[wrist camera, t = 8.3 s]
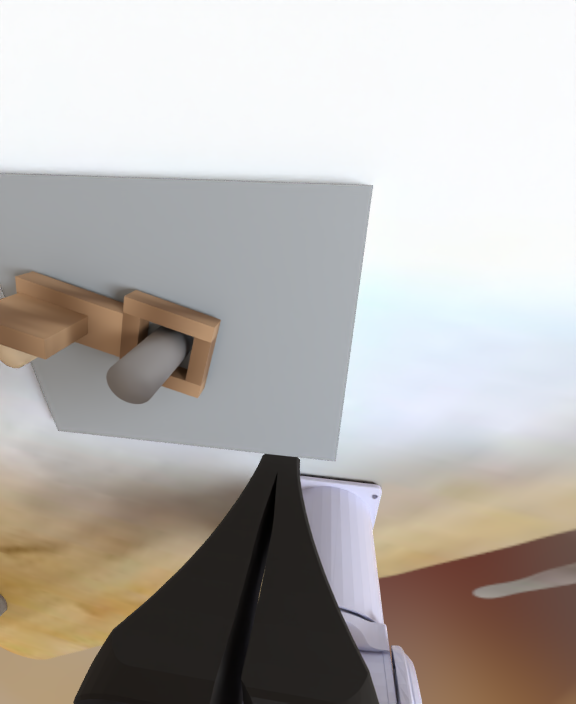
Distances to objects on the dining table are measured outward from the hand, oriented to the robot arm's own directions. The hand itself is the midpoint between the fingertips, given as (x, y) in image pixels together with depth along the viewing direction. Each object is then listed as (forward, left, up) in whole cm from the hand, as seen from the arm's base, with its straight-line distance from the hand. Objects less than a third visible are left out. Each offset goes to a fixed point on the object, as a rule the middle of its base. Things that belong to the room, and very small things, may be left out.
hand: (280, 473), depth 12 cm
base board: (+1, +8, -10) cm, 13 cm away
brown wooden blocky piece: (+2, +11, -8) cm, 14 cm away
